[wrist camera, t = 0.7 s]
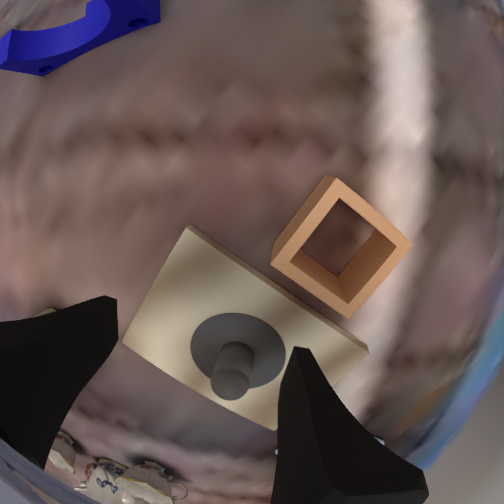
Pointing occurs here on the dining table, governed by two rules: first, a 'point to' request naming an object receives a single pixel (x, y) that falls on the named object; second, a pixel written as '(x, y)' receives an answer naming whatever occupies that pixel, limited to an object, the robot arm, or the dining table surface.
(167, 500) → the chinaware
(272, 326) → the post plate
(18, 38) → the cable clip
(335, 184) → the collar
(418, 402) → the dining table surface
